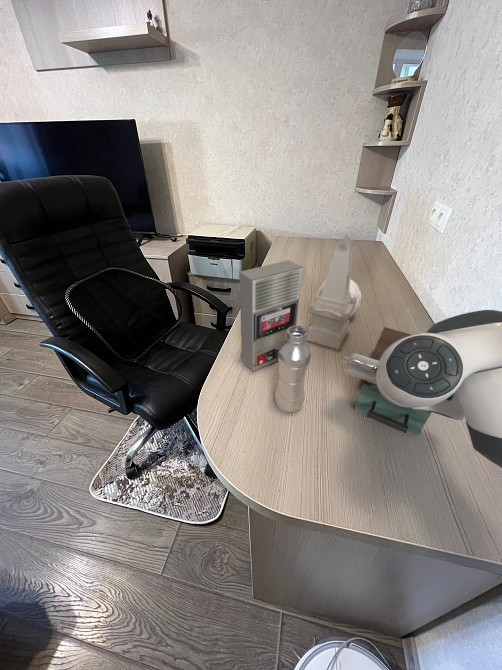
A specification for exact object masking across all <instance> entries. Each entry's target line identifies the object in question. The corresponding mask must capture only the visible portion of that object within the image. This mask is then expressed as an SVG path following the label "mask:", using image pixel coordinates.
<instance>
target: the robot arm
mask: <svg viewBox="0 0 502 670" xmlns="http://www.w3.org/2000/svg"><path fill="white" fill-rule="evenodd" d="M342 362H343V363H344V364H345V367H344V369H343V371H344V373H346V374H347V375H349V376H352V377H354V378H358V379H360V380H362V381H363V380H365V381H368V382H371V383H374V384H376V385H377V387H378V390H379V391H380V393H381V394H382V396H383V397H384V398H385V399H387V400H388V401H389V402H391V403H393V404H395V405H397V406H401V407H411V408H412V409H419V410H426V411H429V412H431V413H433V414H437V415H440V416H443V417H446V418H449V419H453V420H456V421H463V420H464V418H465V424H466V427H467V430H468V431H467V432H468V434H469V438H470V441H471V445H472V448H473V450H475V451H476V452H478V454H480V455H481V456H483V457H484V458H485V459H487V460H488V461H490V462H491V463H493V464H495V465H496V466H498V467H499V468H501V469H502V311H501V310H496V309H481V310H475V311H471V312H466V313H461V314H459V315H458V314H457V315H454V316H451V317H448V318H446V319H442V320H440V321H437V322H436V323H434V324H432V325H431V326H430V327H429V328H428V329H427V330H426V332H421V333H416V334H415V333H414V334H411V336H407V337H405V338H402V339H400V340H398V341H396V342H395V343H393V344H392V345H390V346H389V347H388V348H387V349H386V350H385V351H384V353H383V354H382V356H381V358H380V360H379V361H378V360H375V359H372V358H371V357H369V356H366V355H362V354H359V353H354V352H353V353H351V354H349V356H344V357H343V358H342Z"/></svg>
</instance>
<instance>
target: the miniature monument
mask: <svg viewBox="0 0 502 670" xmlns="http://www.w3.org/2000/svg"><path fill="white" fill-rule="evenodd" d="M353 245H354V244H353V241H352V240H351V238H350V237H349V236H348V234H345V235H344V236H343V237H342V238H341V239H340V240H339V241H338V242H337V243H336V245H335V248H334V251H333V255H332V258H331V261H330V264H329V267H328V271H327V273H326V276H325V280H324V281H325V283H324V282H323V283H324V287H323V290H321V291H320V293H319V296H318V297H317V296H316V297H315V298H314V300H313V302H312V303H309V304H308V311H307V312H308V313H309V314H312V316H311V323H310V325H308V327H307V340H306V341H309V342H311V343H316V344H318V345H321V346H324V347H329V348H332V349H335V350H338V351H339V349H340V347H341V346H342V344H343V341H344V340H345V337H346V335H347V333H348V329H349V324H350V320H349V319H350V317H351V316H350V315H351V313H352V311H353V309H354V307H355V305H356V301H357V297H354V298H352V297H351V293H350V292H349V287H350V279H351V271H352V261H353V260H352V258H353ZM349 316H350V317H349Z"/></svg>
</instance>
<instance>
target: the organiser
mask: <svg viewBox="0 0 502 670" xmlns="http://www.w3.org/2000/svg"><path fill="white" fill-rule="evenodd" d="M411 335H412V334H410V333H407V332H404V331H401V330H398V329H393V328H389V327H385V326H384V327H383V329H382V331H381V333H380V335H379V337H378V340H377V342H376V344H375V347H374V349H373V352H372V353H371V356H370V358H372V359H375V360H378V361H379V360H380V358H381V356H382V354H383V353H384V351H385V350H386V349H387V348H388V347H389V346H390V345H392V344H393V343H395V342H396V341H398V340H400V339H402V338H405V337H407V336H411ZM367 383H368V381H365V380H363V379H362V383H361V385H360V388H361V387H362V385H363V384H366V385H367Z"/></svg>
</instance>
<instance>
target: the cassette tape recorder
mask: <svg viewBox="0 0 502 670" xmlns="http://www.w3.org/2000/svg"><path fill="white" fill-rule="evenodd" d="M302 275H303V266H301V265H300V264H298V263H295V262H293V261H291V260H289V259H288V260H283V261H279V262H275V263H270V264H267V265H262V266H258V267H254V268H250V269H245V270H241V271H239V275H238V276H239V306H240V307H239V308H240V337H241V338H240V342H241V343H240V345H241V355H240V359H241V361H242V362H243V363H244V364H245V365H246V366H247V367H248V368H249V369H250V370H251V371H252V372H255V371H257V370H259V369H262V368H264V367H266V366H269V365H271V364H274V363H276V362H278V350H279V348H280V346H281V345H282V344H283V343H284V342H285V341H286V335H287V330H288V328H289V327H291V326H297V321H298V314H299V313H298V311H299V303H300V296H301V295H300V294H301V285H302V277H303V276H302Z"/></svg>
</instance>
